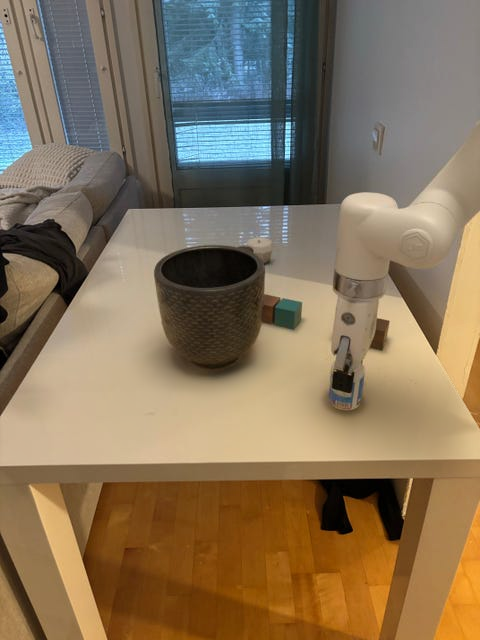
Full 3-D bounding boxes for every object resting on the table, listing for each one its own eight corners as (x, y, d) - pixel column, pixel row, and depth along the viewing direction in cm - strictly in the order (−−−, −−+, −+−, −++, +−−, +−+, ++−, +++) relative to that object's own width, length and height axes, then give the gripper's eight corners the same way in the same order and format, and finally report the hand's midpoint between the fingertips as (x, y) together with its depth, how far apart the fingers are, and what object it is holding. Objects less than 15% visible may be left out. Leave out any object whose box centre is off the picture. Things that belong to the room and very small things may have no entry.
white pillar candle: (239, 263, 129) (239, 241, 125) (254, 253, 134) (254, 232, 131) (264, 269, 125) (264, 247, 122) (278, 259, 131) (279, 237, 127)
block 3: (386, 339, 95) (389, 320, 93) (382, 350, 92) (385, 331, 90) (364, 334, 97) (367, 315, 95) (359, 345, 94) (362, 326, 91)
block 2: (301, 319, 103) (302, 302, 100) (293, 329, 99) (294, 311, 97) (282, 315, 104) (282, 297, 102) (274, 325, 101) (274, 307, 99)
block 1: (280, 315, 104) (280, 297, 102) (272, 324, 101) (272, 306, 99) (261, 310, 106) (261, 293, 104) (253, 320, 103) (253, 302, 100)
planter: (255, 390, 82) (256, 295, 72) (150, 379, 86) (136, 286, 76) (269, 331, 99) (271, 247, 89) (180, 323, 102) (172, 241, 92)
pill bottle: (347, 387, 83) (353, 341, 78) (367, 405, 78) (374, 358, 73) (321, 396, 81) (326, 350, 76) (340, 415, 76) (346, 367, 71)
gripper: (372, 313, 60) (356, 418, 69) (396, 263, 73) (380, 357, 82) (316, 301, 63) (308, 404, 72) (349, 255, 76) (339, 347, 85)
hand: (346, 378), depth 77 cm, fingers closed on pill bottle, 5 cm apart
